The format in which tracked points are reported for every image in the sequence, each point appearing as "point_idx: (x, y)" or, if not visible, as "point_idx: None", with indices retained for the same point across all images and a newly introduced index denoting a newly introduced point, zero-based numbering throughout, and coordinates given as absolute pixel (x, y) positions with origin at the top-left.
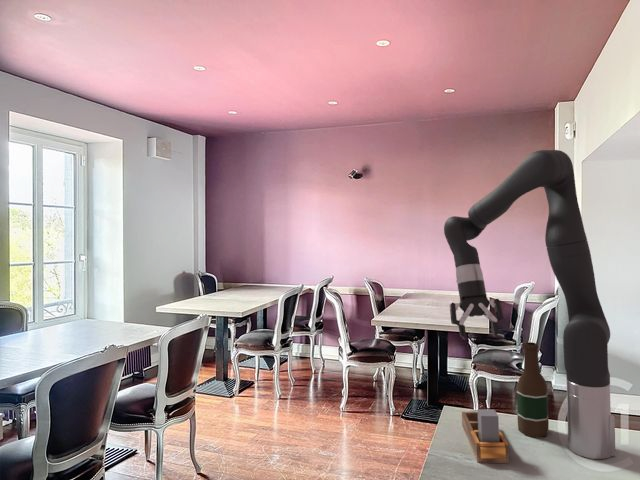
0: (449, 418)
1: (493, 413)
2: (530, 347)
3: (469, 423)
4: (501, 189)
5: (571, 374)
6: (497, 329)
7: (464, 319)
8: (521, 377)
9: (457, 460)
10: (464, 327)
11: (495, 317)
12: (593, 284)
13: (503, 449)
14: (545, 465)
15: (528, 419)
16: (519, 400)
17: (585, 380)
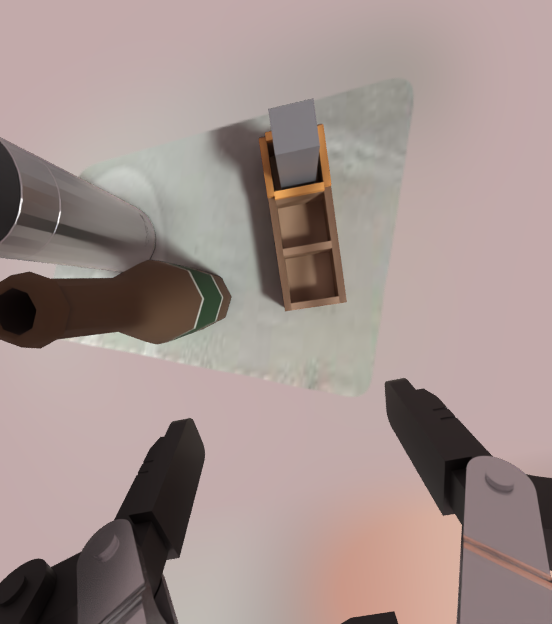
0: (367, 334)
1: (279, 125)
2: (31, 276)
3: (331, 235)
4: None
5: None
6: (148, 464)
7: (486, 533)
8: (169, 296)
9: (356, 142)
10: (435, 440)
11: (78, 587)
12: None
13: (269, 132)
14: (204, 163)
15: (203, 272)
16: (205, 289)
17: None
